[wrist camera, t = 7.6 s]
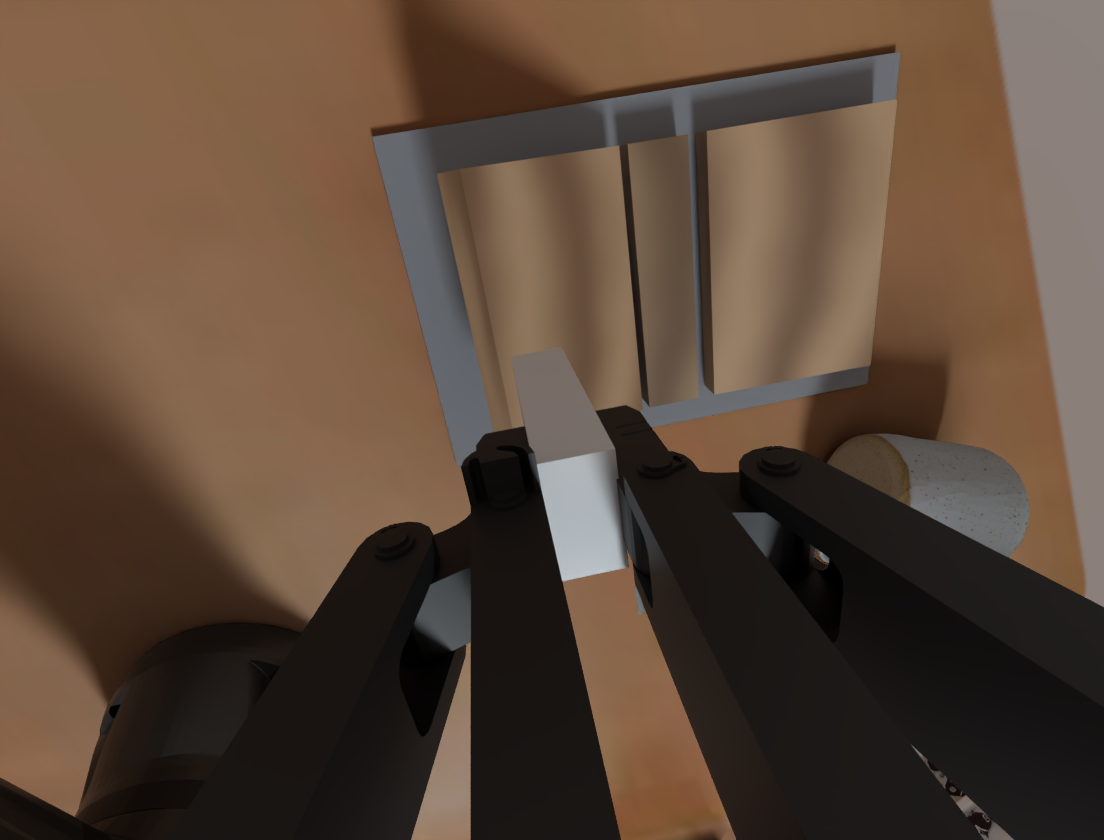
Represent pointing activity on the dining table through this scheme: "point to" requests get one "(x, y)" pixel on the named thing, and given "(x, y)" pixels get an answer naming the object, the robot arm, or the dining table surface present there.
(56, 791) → the dining table surface
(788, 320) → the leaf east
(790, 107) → the underlay mat
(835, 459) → the ceramic mug
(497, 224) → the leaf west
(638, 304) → the centre strip
